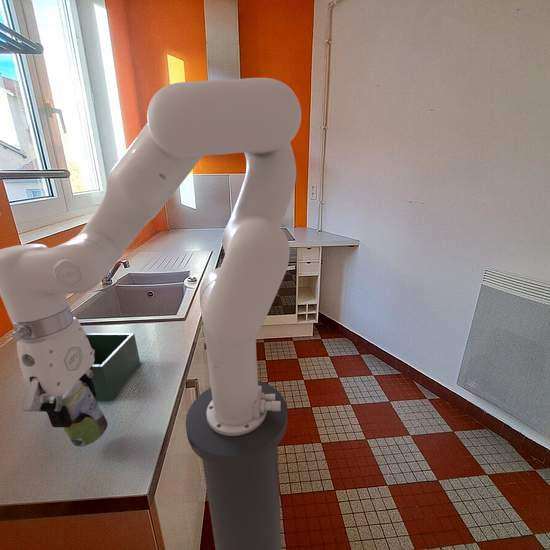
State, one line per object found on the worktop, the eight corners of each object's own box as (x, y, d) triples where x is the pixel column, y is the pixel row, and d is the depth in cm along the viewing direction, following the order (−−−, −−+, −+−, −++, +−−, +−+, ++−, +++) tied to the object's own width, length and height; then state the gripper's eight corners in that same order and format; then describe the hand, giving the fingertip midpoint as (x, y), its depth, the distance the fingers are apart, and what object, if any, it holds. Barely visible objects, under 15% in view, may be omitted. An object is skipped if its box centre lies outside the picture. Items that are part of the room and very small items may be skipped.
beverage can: (116, 429, 58) (101, 376, 55) (79, 460, 52) (60, 402, 49) (95, 420, 61) (80, 369, 58) (57, 449, 55) (38, 393, 51)
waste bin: (140, 363, 84) (134, 333, 81) (111, 400, 70) (102, 366, 67) (90, 362, 85) (82, 333, 82) (51, 400, 71) (39, 366, 68)
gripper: (21, 352, 40) (61, 453, 46) (99, 298, 56) (121, 378, 62) (-32, 354, 40) (15, 453, 46) (61, 300, 57) (87, 379, 63)
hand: (76, 409), depth 54 cm, fingers closed on beverage can, 6 cm apart
